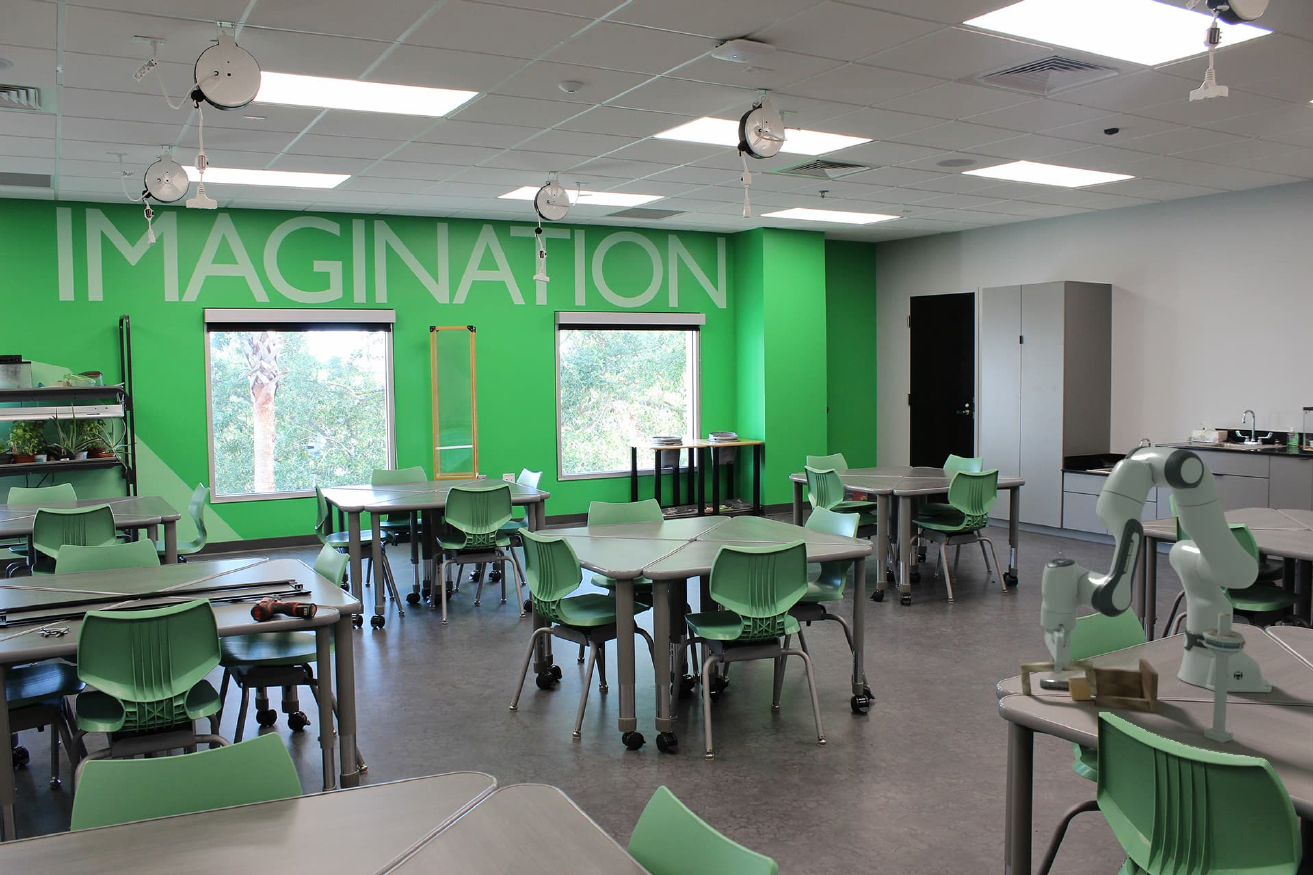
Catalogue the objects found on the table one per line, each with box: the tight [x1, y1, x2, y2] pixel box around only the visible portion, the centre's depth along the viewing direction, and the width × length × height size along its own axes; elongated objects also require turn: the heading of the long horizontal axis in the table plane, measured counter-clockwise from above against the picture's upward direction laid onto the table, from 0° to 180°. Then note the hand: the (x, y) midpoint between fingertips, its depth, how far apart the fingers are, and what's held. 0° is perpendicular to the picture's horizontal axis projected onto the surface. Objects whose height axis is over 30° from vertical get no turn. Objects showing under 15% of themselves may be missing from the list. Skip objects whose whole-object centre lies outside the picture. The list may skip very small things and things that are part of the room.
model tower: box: [1203, 613, 1245, 744], centre depth 224 cm, size 8×8×30 cm
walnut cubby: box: [1093, 658, 1159, 714], centre depth 250 cm, size 14×13×10 cm
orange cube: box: [1067, 676, 1092, 701], centre depth 252 cm, size 4×4×4 cm
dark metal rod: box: [1039, 678, 1069, 691], centre depth 260 cm, size 12×2×2 cm, turn 76°
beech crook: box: [1019, 660, 1097, 696], centre depth 254 cm, size 18×6×8 cm, turn 75°
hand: (1056, 670), depth 254 cm, fingers closed on beech crook
